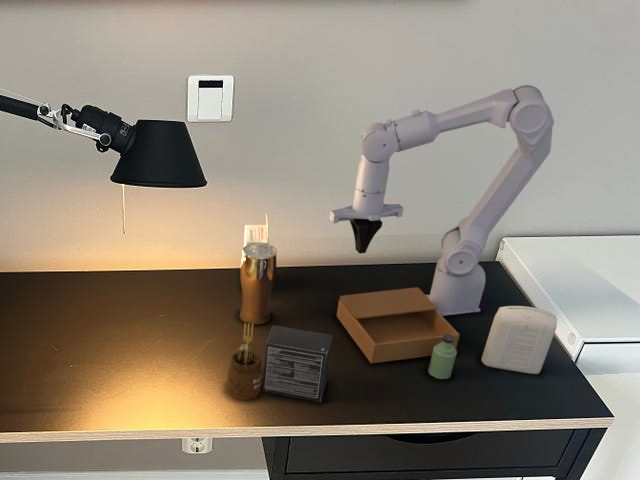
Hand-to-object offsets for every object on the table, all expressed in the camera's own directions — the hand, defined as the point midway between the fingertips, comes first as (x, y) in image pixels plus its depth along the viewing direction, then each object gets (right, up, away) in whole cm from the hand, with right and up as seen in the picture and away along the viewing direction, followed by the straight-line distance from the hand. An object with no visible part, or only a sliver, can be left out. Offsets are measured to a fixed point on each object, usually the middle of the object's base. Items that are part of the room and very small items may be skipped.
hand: (360, 251), depth 153 cm
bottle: (+10, -25, -17) cm, 32 cm away
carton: (+5, -17, -7) cm, 19 cm away
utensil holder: (-26, -28, -20) cm, 43 cm away
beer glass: (-22, -14, -1) cm, 26 cm away
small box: (-17, -27, -20) cm, 38 cm away
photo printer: (+23, -23, -15) cm, 37 cm away
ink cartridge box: (-21, -5, +11) cm, 24 cm away
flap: (+4, -11, -6) cm, 13 cm away
